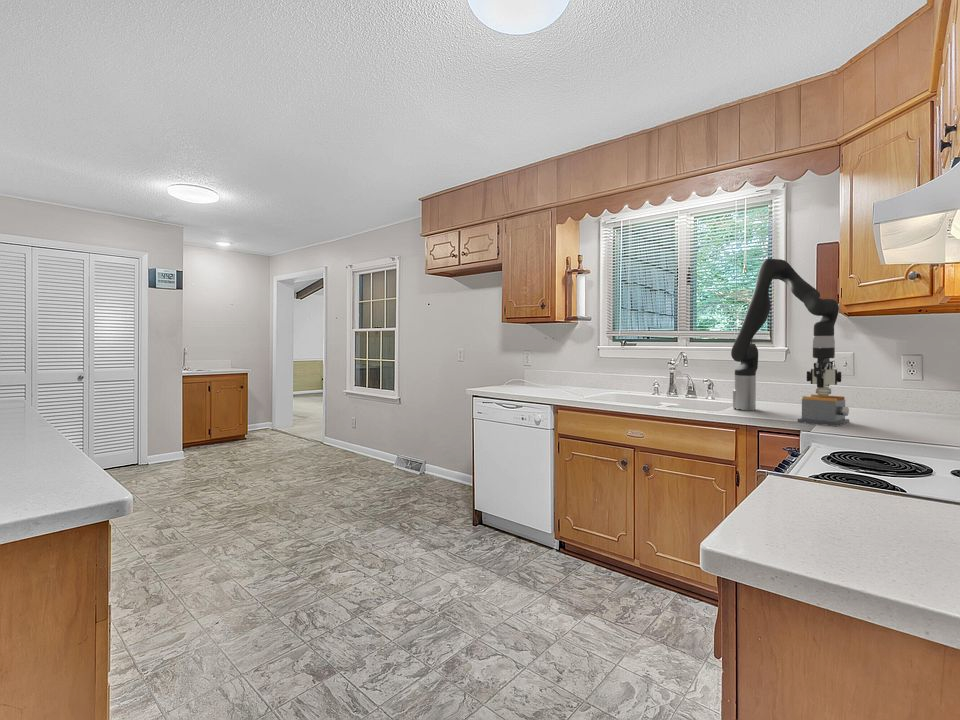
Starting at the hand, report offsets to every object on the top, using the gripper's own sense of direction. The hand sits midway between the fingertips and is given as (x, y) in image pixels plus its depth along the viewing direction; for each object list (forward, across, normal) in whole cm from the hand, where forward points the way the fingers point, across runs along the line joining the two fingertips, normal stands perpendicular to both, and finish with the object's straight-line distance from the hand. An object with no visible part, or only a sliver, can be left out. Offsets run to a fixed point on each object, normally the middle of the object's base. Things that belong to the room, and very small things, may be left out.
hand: (823, 386), depth 201 cm
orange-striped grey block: (+15, 0, 0) cm, 15 cm away
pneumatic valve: (+4, 0, 0) cm, 4 cm away
